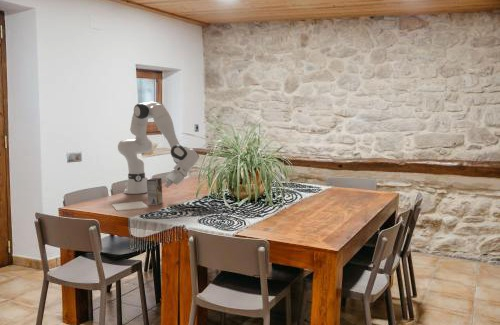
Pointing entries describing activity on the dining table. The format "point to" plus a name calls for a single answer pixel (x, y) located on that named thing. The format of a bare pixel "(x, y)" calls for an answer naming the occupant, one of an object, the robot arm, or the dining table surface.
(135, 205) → the mat
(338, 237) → the dining table surface
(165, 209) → the dining table surface
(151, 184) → the coffee box
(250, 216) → the dining table surface
